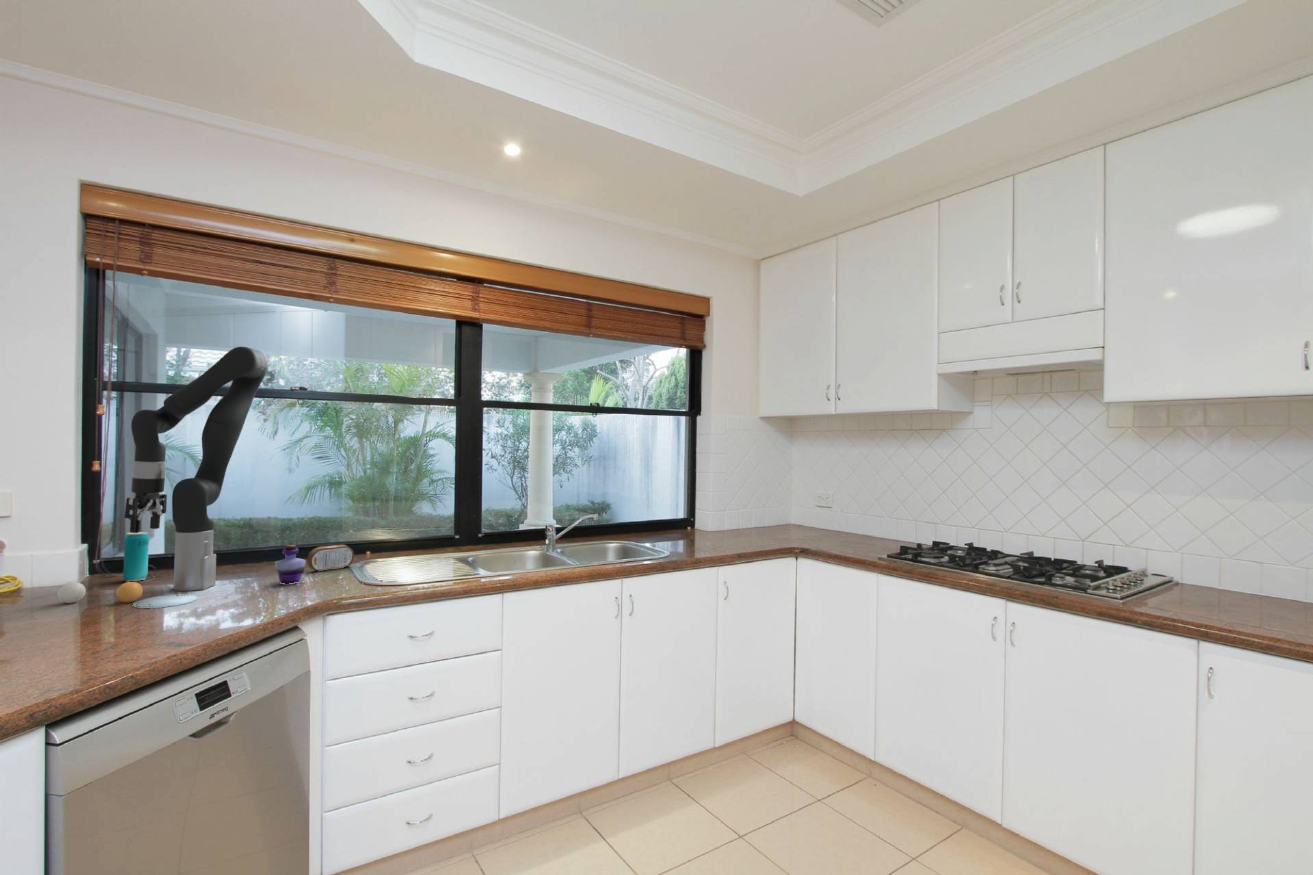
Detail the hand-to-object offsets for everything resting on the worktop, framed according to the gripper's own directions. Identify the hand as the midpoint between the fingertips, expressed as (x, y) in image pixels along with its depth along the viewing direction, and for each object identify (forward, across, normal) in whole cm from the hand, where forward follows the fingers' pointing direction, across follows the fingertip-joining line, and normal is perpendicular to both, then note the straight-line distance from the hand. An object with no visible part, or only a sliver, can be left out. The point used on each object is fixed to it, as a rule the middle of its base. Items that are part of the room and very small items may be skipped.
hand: (145, 530), depth 180 cm
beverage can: (+18, +10, +8) cm, 22 cm away
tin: (+16, +25, -44) cm, 53 cm away
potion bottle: (+16, +5, -39) cm, 42 cm away
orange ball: (+14, -16, -7) cm, 22 cm away
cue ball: (+15, -16, +7) cm, 23 cm away
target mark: (+17, -16, -16) cm, 28 cm away
